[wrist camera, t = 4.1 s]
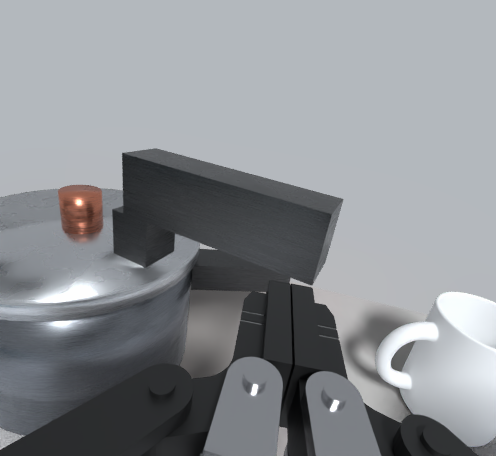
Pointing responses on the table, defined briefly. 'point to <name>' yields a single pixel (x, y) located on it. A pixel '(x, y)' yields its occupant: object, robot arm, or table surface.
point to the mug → (449, 366)
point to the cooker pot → (106, 344)
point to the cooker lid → (151, 235)
